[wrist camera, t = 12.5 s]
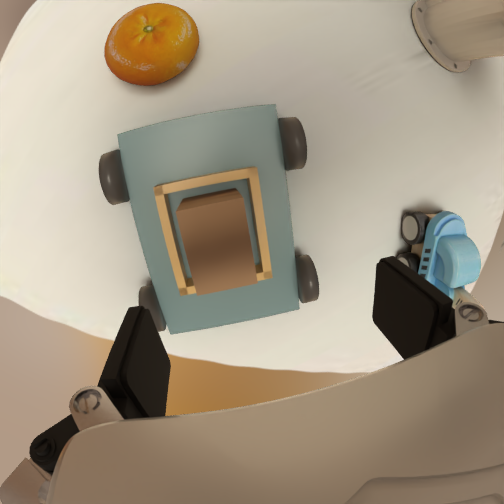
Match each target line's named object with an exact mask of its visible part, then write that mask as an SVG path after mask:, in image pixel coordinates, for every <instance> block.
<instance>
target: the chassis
mask: <svg viewBox="0 0 504 504" xmlns="http://www.w3.org/2000/svg"><path fill="white" fill-rule="evenodd" d="M117 136H118V142H119V148H120V150H114V151H111V152H108V153H105V154H103V155H102V156H101V158H100V161H99V178H100V183H101V187H102V190H103V193H104V195H105V197H106V199H107V200H108V202H109V203H110V204H112V205H116V204H120V203H123V202H127V201H129V200H130V203H131V207H132V211H133V215H134V219H135V223H136V227H137V231H138V235H139V239H140V242H141V246H142V249H143V253H144V256H145V260H146V263H147V267H148V270H149V273H150V276H151V280H152V283H153V285H149V286H144V287H141V288H140V291H139V306H144V308H145V309H147V308H148V309H149V310H150V313H151V315H152V318H153V320H154V323H155V326H156V328H157V331H158V332H159V331H164V330H165V329H166V324H167V326H168V329H169V332H170V334H177V333H184V332H190V331H196V330H201V329H207V328H213V327H218V326H223V325H228V324H234V323H239V322H244V321H249V320H253V319H258V318H263V317H267V316H272V315H276V314H281V313H285V312H289V311H294V310H298V309H299V299H300V301H301V302H302V303H307V302H311V301H315V300H317V299H318V296H319V282H318V276H317V272H316V269H315V266H314V263H313V261H312V259H311V258H310V256H309V255H302V256H297V257H295V251H294V241H293V232H292V223H291V214H290V205H289V197H288V188H287V180H286V173H285V170H294V169H302V168H303V167H304V166H305V163H306V159H307V144H306V137H305V133H304V130H303V127H302V124H301V122H300V121H299V119H298V118H296V117H288V118H279V119H278V117H277V110H276V104H271V105H260V106H251V107H243V108H236V109H229V110H222V111H216V112H210V113H204V114H199V115H193V116H188V117H184V118H179V119H174V120H170V121H165V122H161V123H157V124H153V125H149V126H145V127H142V128H138V129H134V130H131V131H127V132H124V133H121V134H117ZM231 188H236V189H237V190H238V192H239V193H240V194H241V195H242V197H243V199H244V205H245V211H246V217H247V222H248V228H249V234H250V240H251V246H252V252H253V257H254V263H255V269H256V275H257V281H258V283H257V284H252V285H248V286H243V287H238V288H233V289H229V290H224V291H219V292H214V293H209V294H204V295H199V296H197V293H196V290H195V286H194V283H193V279H192V275H191V272H190V268H189V264H188V260H187V256H186V253H185V249H184V245H183V241H182V237H181V233H180V228H179V224H178V220H177V216H176V210H177V208H178V206H179V204H180V203H181V201H182V199H183V198H188V197H192V196H197V195H202V194H206V193H211V192H216V191H221V190H226V189H231Z"/></svg>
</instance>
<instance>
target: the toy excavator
mask: <svg viewBox="0 0 504 504" xmlns="http://www.w3.org/2000/svg"><path fill="white" fill-rule="evenodd" d="M402 221H403V224H402V236H403V238H404V240H405V241H406V242H407V243H408V244H411V245H412V250H411V252H410V253H402V254H400V255H398V256H397V258H398V260H400V261H401V262H403V263H404V264H405V265H407V266H408V267H410V268H411V269H412V270H414V271H415V272H417V273H418V274H419V275H421V276H422V277H423V278H425V279H426V280H427V281H429V282H430V283H432V284H433V285H434V286H436V287H437V288H438V289H439V290H441V291H442V292H443V293H445V294H446V295H447V296H449V297H450V298H451V299H452V300H453V305H452V307H453V308H454V309H455V308H456V306H457V305H458V304H460V303H464V302H471V303H475V304H477V305H479V306H481V307H482V308H483V309H484V307H483V306H482V304H481V303H480V302H478V301H477V300H476V299H475V298H474V297H473V296H472V295H471V294H469V293H468V292H467V291H466V290H465V287H464V285H466V284H470V283H472V282H475V281H476V280H477V279H478V277H479V273H480V268H481V259H480V254H479V251H478V249H477V247H476V245H475V244H474V242H473V241H472V240H471V239H470V238H469V237H467V233H466V228H465V224H464V221H463V219H462V218H461V217H460V216H459V215H457V214H454V213H452V212H449V211H443V212H438V213H437V214H424V213H422V212H408V213H406V214H405V215H404V217H403V218H402Z"/></svg>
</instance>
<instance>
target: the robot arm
mask: <svg viewBox="0 0 504 504" xmlns="http://www.w3.org/2000/svg"><path fill="white" fill-rule="evenodd" d="M412 19H413V23H414V26H415V29H416V31H417V34H418V36H419V38H420V39H421V41H422V43H423V44H424V46H425V47H426V49H427V50H428V52H429V53H430V54H431V55H432V57H433V58H434V59H435V60H436V61H437V62H438V63H440V64H441V65H442V66H443V67H445V68H446V69H448V70H450V71H453V72H463V71H465V70H467V69H468V68H469V66H470V64H471V60H474V59H481V58H488V57H497V56H504V0H419V1H417V2H415V4H414V5H413V8H412ZM452 305H453V300H452V299H451V298H450V297H449V296H447V295H446V294H445V293H443V292H442V291H441V290H439V289H438V288H437V287H436V286H434V285H433V284H432V283H430V282H429V281H427V280H426V279H425V278H423V277H422V276H421V275H419V274H418V273H417V272H415V271H414V270H412V269H411V268H410V267H408V266H407V265H405V264H404V263H403V262H401V261H400V260H398V259H397V258H395V257H394V256H390V257H386V258H382V259H380V261H379V263H377V266H376V280H375V294H374V305H373V315H372V317H373V321H374V323H375V325H376V326H377V327H378V328H379V329H380V331H381V332H382V333H383V334H384V335H385V337H386V338H387V339H388V340H389V341H390V343H391V344H392V345H393V346H394V348H395V349H396V350H397V351H398V353H399V354H400V355H401V356H402V358H403V359H404V360H402V361H400V362H398V363H395V364H393V365H390V366H387V367H385V368H382V369H379V370H377V371H374V372H371V373H368V374H366V375H363V376H360V377H357V378H354V379H351V380H348V381H345V382H342V383H338V384H335V385H332V386H329V387H325V388H322V389H318V390H314V391H311V392H307V393H303V394H299V395H295V396H291V397H287V398H283V399H278V400H274V401H269V402H264V403H259V404H254V405H249V406H243V407H237V408H231V409H225V410H218V411H210V412H202V413H194V414H184V415H175V416H174V415H173V416H165V413H166V402H167V392H168V384H169V375H170V367H171V365H170V360H169V357H168V355H167V353H166V350H165V348H164V345H163V343H162V341H161V338H160V336H159V333H158V331H157V328H156V326H155V323H154V320H153V318H152V315H151V313H150V310H149V309H148V308H147V309H145V308H144V306H136V307H130V308H129V309H128V311H127V313H126V315H125V317H124V320H123V322H122V324H121V327H120V329H119V332H118V334H117V336H116V339H115V341H114V344H113V346H112V348H111V351H110V353H109V356H108V359H107V361H106V364H105V367H104V369H103V372H102V375H101V377H100V380H99V383H98V386H87V387H84V388H82V389H80V390H79V391H77V392H76V393H75V394H74V395H73V396H72V398H71V400H70V404H69V408H70V412H71V414H70V415H69V416H67V417H66V418H64V419H63V420H61V421H60V422H58V423H57V424H55V425H54V426H52V427H51V428H49V429H48V430H46V431H45V432H43V433H41V434H40V435H38V436H37V437H36V438H35V439H34V440H33V442H32V443H31V446H30V457H31V458H30V459H29V460H28V459H27V458H25V459H24V460H23V461H22V462H21V463H20V464H19V465H18V467H17V468H16V469H15V470H14V471H13V472H12V474H11V475H10V476H9V477H8V478H7V479H6V480H5V481H4V483H3V484H2V486H1V487H0V500H1V502H2V504H504V322H500V321H493V320H488V317H487V313H486V311H485V310H484V309H483V308H482V307H481V306H479V305H477V304H475V303H471V302H464V303H460V304H458V305H457V306H456V308H455V309H454V308H453V307H452Z"/></svg>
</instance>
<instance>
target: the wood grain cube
mask: <svg viewBox="0 0 504 504" xmlns="http://www.w3.org/2000/svg"><path fill="white" fill-rule="evenodd" d="M176 216H177V220H178V224H179V228H180V233H181V237H182V241H183V245H184V249H185V253H186V256H187V260H188V264H189V268H190V272H191V275H192V279H193V283H194V286H195V290H196V293H197V296H199V295H204V294H209V293H214V292H219V291H224V290H229V289H233V288H238V287H243V286H248V285H252V284H257V283H258V281H257V275H256V269H255V263H254V257H253V252H252V246H251V240H250V234H249V228H248V222H247V217H246V211H245V205H244V199H243V197H242V195H241V194H240V193H239V192H238V190H237V189H236V188H231V189H226V190H221V191H216V192H211V193H206V194H202V195H197V196H192V197H188V198H183V199H182V201H181V203H180V204H179V206H178V208H177V210H176Z"/></svg>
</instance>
